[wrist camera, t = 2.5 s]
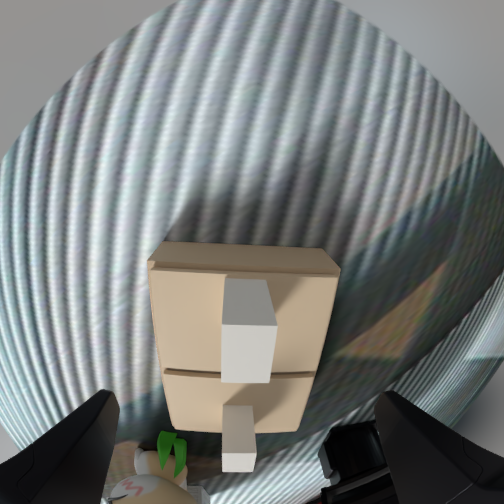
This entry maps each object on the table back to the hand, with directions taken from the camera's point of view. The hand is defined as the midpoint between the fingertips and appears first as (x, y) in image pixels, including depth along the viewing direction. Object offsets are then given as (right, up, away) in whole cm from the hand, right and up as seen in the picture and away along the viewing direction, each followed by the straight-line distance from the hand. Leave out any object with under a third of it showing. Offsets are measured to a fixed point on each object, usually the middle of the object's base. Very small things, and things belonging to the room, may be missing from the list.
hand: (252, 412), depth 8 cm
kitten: (-11, -20, +18) cm, 29 cm away
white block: (-1, +1, +7) cm, 7 cm away
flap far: (-1, -6, +9) cm, 11 cm away
